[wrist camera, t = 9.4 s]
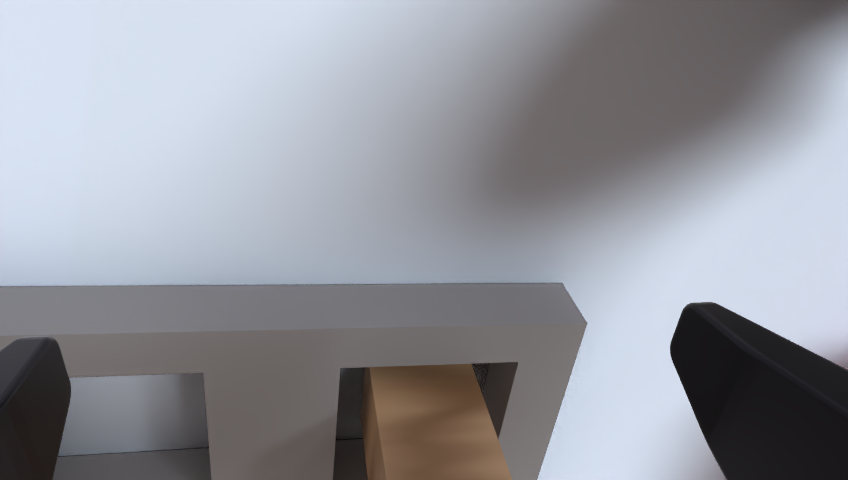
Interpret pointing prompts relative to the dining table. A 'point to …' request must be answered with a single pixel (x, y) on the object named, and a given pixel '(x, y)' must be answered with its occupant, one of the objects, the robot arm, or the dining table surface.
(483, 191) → the dining table surface
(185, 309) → the socket plate
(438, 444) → the plug
